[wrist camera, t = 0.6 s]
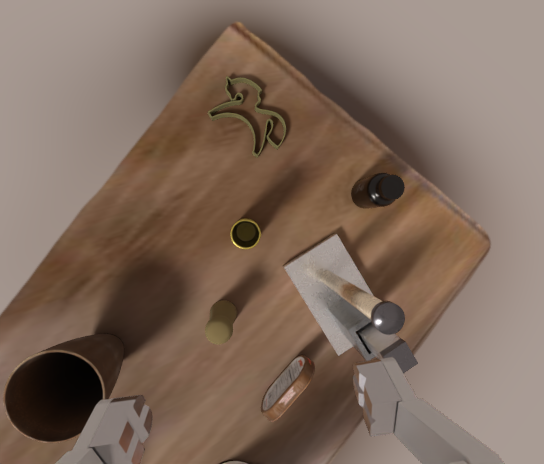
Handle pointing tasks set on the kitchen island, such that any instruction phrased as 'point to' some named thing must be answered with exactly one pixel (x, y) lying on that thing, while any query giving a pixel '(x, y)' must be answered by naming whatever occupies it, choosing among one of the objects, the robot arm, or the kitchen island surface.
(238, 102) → the cookie cutter
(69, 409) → the plant pot
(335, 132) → the kitchen island surface
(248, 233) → the vase
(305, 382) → the tin
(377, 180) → the supplement bottle
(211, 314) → the olive waisted cylinder
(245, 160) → the kitchen island surface
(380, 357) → the column
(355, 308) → the stand
